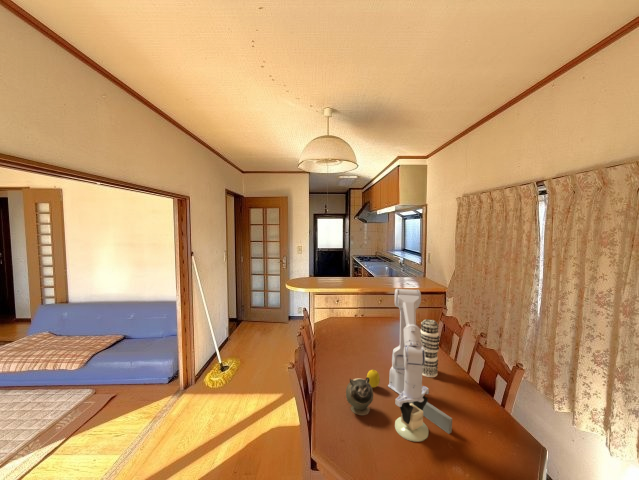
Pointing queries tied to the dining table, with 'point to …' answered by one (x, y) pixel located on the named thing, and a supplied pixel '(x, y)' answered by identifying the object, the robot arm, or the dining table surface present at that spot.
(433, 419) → the grey rectangular bar
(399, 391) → the robot arm
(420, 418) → the cube
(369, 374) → the lemon
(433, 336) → the decorative candle
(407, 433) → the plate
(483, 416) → the dining table surface
